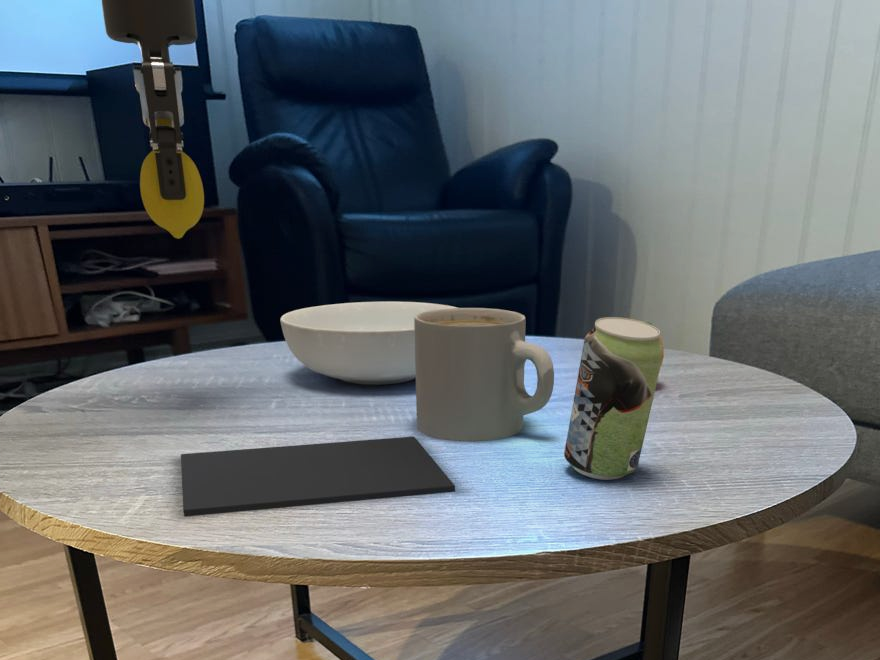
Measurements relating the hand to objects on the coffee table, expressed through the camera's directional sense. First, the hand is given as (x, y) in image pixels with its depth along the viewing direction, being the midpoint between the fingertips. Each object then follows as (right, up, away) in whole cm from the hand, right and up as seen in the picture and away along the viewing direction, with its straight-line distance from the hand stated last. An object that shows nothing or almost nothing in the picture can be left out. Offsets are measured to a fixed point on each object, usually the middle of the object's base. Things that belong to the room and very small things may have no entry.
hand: (173, 196), depth 86 cm
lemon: (0, -3, +2) cm, 4 cm away
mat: (+15, -28, -11) cm, 33 cm away
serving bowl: (+17, -11, +21) cm, 29 cm away
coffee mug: (+29, -22, +1) cm, 36 cm away
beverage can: (+39, -28, -10) cm, 49 cm away
